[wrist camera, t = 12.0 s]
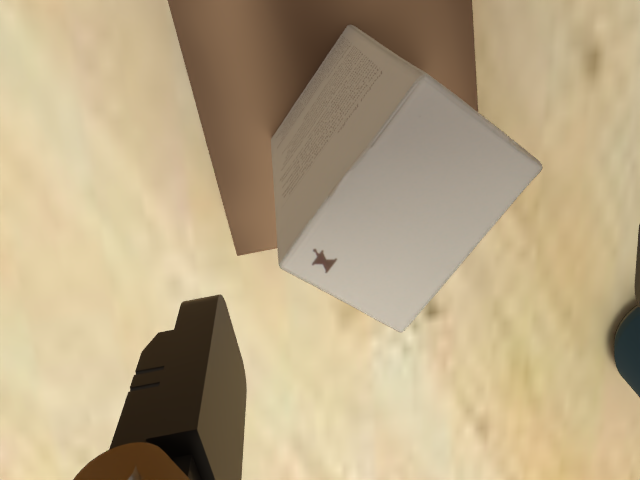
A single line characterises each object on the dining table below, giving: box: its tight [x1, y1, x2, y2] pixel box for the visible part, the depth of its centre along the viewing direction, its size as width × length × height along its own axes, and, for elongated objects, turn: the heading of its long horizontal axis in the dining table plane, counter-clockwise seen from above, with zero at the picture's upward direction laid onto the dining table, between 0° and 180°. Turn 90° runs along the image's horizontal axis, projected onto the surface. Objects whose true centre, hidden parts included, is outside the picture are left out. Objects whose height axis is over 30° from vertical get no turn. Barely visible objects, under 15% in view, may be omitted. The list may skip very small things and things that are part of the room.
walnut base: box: [168, 0, 478, 256], centre depth 27 cm, size 12×12×4 cm
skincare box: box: [271, 25, 542, 332], centre depth 20 cm, size 6×4×12 cm
